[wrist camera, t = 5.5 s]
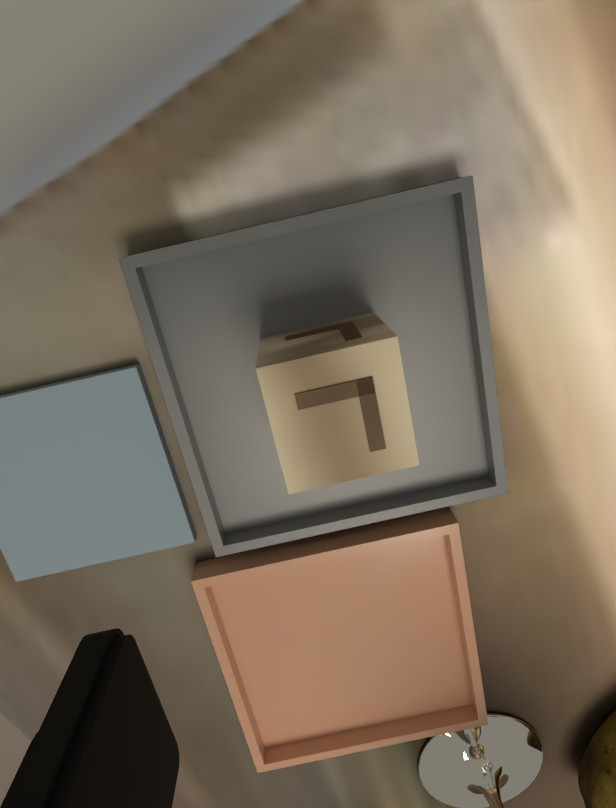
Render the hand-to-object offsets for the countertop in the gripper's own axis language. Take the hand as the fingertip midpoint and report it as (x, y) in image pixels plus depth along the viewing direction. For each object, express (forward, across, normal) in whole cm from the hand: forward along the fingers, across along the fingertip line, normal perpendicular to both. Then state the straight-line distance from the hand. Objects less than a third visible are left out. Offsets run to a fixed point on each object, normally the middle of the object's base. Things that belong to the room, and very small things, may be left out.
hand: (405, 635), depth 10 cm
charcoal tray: (+16, 0, 0) cm, 16 cm away
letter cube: (+16, 0, 0) cm, 16 cm away
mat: (+16, +12, +2) cm, 21 cm away
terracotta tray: (+16, +2, +14) cm, 22 cm away
